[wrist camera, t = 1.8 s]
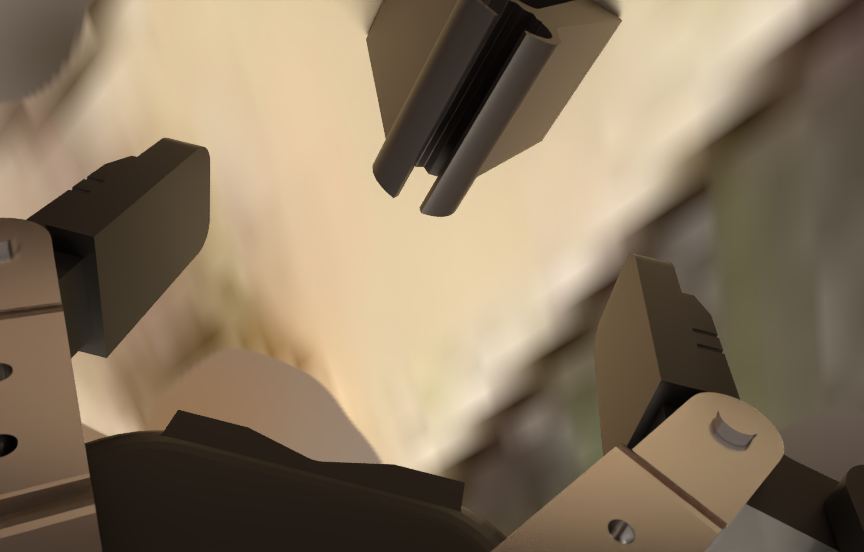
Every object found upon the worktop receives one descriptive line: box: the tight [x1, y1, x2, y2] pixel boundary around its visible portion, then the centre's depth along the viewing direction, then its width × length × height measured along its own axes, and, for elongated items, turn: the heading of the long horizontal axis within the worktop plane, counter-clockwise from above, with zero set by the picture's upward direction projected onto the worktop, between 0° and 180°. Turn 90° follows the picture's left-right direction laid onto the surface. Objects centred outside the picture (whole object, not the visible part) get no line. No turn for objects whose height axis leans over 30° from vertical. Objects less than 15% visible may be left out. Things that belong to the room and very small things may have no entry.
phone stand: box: [366, 0, 622, 217], centre depth 23 cm, size 9×6×12 cm, turn 62°
